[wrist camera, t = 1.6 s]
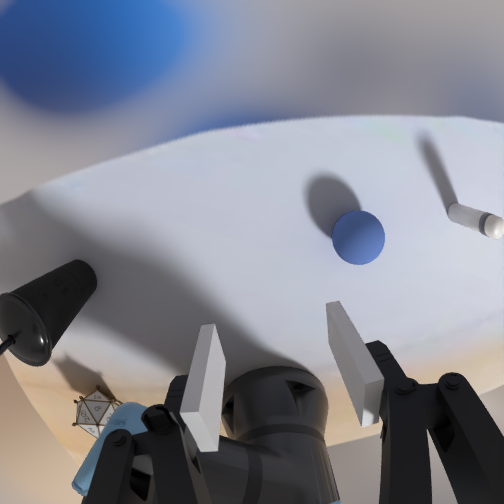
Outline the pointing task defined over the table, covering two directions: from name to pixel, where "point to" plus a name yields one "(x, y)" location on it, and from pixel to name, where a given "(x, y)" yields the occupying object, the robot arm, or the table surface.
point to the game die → (94, 412)
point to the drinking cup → (44, 311)
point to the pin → (477, 220)
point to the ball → (358, 237)
